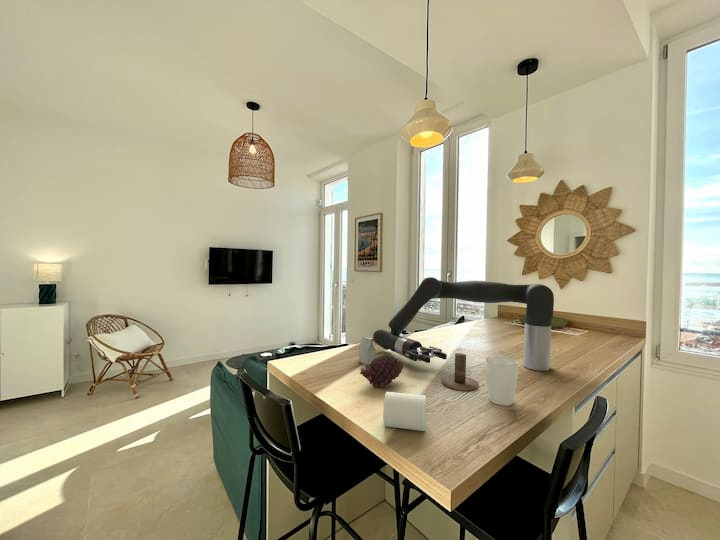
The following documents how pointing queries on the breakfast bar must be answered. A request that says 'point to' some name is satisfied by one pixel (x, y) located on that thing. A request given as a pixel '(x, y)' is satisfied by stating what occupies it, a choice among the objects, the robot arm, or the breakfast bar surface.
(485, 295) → the robot arm
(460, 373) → the lid
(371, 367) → the pine cone
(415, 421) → the white rounded block
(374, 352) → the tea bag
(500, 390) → the cup
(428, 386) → the breakfast bar surface
